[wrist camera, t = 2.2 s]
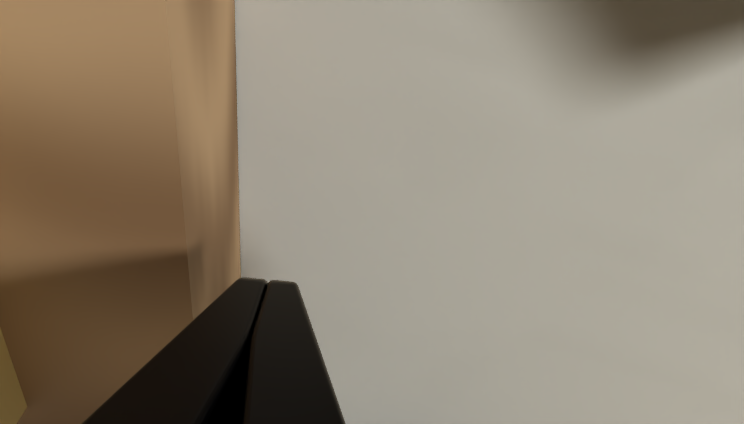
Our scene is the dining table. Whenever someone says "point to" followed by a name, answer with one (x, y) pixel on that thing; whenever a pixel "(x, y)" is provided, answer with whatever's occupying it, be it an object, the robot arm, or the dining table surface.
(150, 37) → the brown flat block
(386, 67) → the dining table surface
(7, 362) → the butter block
